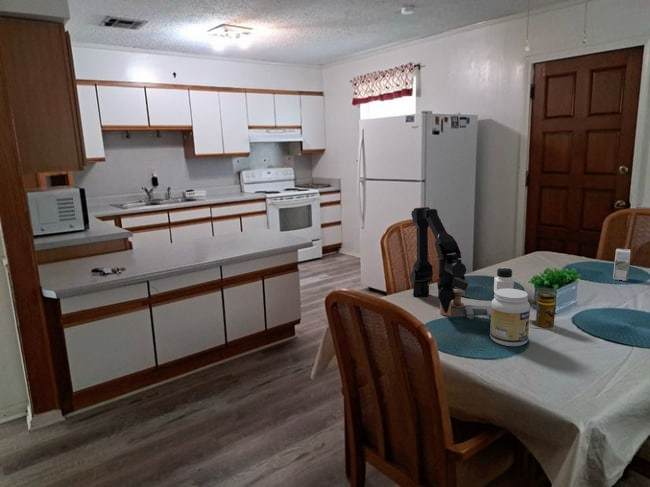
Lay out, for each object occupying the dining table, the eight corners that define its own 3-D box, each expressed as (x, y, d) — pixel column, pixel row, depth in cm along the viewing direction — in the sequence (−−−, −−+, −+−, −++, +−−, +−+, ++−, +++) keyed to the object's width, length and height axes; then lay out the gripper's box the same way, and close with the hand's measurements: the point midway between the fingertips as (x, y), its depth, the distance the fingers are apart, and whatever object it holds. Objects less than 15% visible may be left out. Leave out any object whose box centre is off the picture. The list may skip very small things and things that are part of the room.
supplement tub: (524, 350, 146) (527, 300, 142) (486, 343, 152) (488, 295, 149) (530, 336, 156) (533, 289, 152) (494, 330, 162) (496, 285, 159)
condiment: (556, 330, 161) (558, 298, 158) (530, 328, 163) (532, 296, 161) (552, 322, 168) (555, 291, 165) (528, 320, 170) (530, 290, 168)
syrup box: (627, 278, 216) (630, 249, 213) (627, 281, 211) (630, 251, 208) (613, 277, 219) (616, 247, 216) (613, 280, 214) (616, 250, 211)
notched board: (467, 318, 174) (467, 313, 173) (465, 309, 183) (465, 304, 183) (494, 319, 172) (494, 314, 171) (491, 310, 181) (491, 305, 181)
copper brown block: (440, 314, 179) (440, 300, 178) (440, 311, 183) (440, 297, 181) (450, 315, 178) (451, 300, 177) (450, 311, 182) (450, 297, 181)
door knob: (449, 308, 186) (450, 293, 184) (449, 303, 191) (449, 288, 190) (464, 308, 184) (465, 293, 183) (463, 303, 190) (464, 289, 189)
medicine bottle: (513, 297, 195) (515, 270, 193) (496, 297, 197) (497, 270, 194) (510, 292, 202) (511, 266, 200) (493, 291, 204) (494, 266, 201)
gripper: (469, 278, 166) (468, 318, 169) (465, 265, 184) (464, 301, 187) (438, 277, 168) (438, 316, 172) (437, 264, 186) (436, 300, 190)
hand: (445, 308), depth 180 cm, fingers open, 9 cm apart
